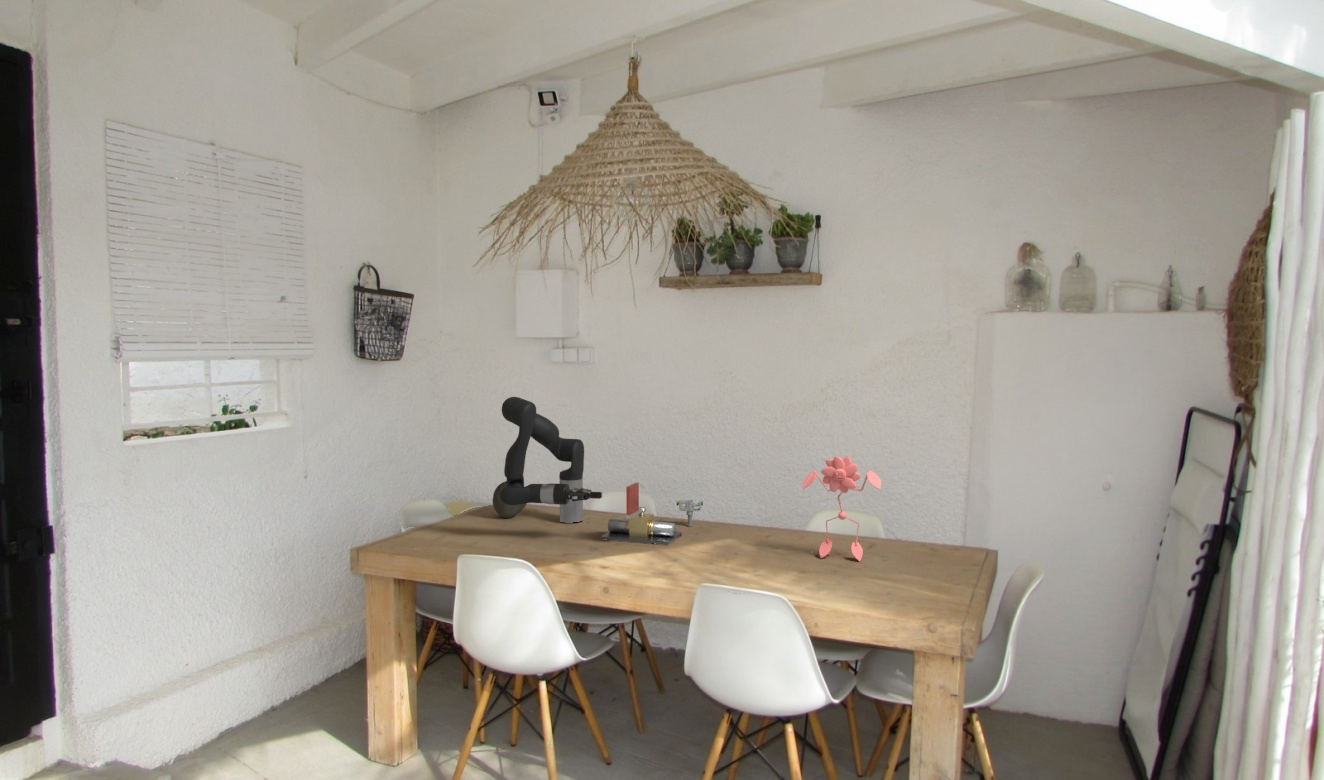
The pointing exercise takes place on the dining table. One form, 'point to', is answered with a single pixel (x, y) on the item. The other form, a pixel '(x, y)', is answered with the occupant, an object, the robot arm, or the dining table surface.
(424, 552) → the dining table surface
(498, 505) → the kiwi fruit
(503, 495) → the robot arm
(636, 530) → the valve stand
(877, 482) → the flower figure
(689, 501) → the mechanical component
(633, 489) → the valve lever
